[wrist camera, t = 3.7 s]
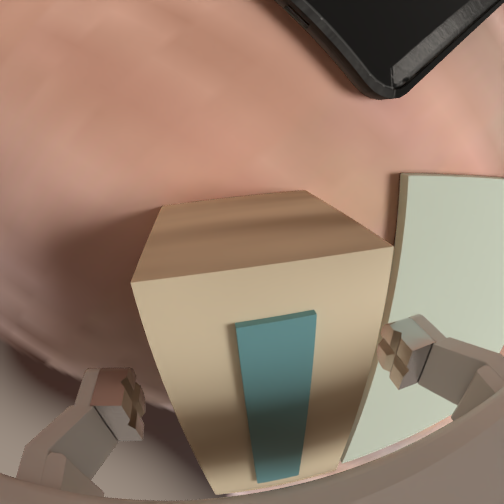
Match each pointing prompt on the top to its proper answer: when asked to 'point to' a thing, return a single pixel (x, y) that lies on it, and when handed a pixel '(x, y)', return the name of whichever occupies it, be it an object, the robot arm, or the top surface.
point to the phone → (389, 37)
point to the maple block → (263, 330)
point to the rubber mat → (436, 294)
